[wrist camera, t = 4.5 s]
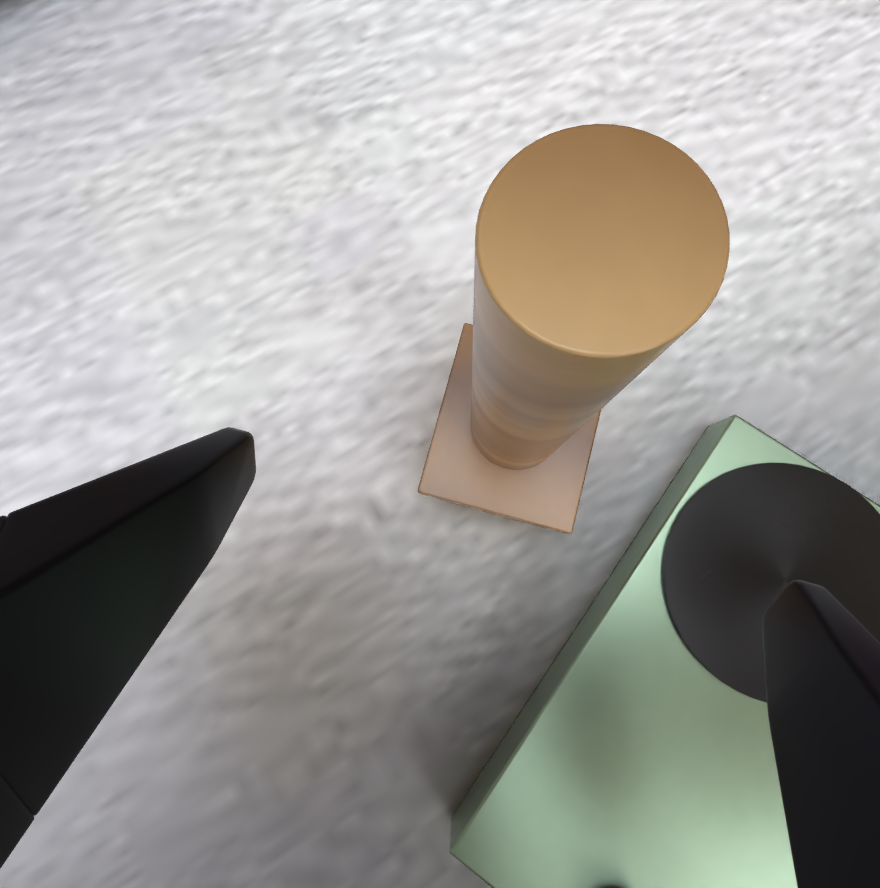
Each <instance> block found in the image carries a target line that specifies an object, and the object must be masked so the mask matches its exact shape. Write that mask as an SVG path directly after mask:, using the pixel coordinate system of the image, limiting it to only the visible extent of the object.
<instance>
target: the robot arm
mask: <svg viewBox="0 0 880 888" xmlns="http://www.w3.org/2000/svg"><path fill="white" fill-rule="evenodd" d="M255 473H256V463H255V449H254V439H253V436H252V434H251V433H249V432H247V431H243V430H239V429H235V428H230V427H228V428H224V429H221V430H219V431H216V432H214V433H211V434H209V435H206V436H204V437H201V438H199V439H196V440H194V441H191V442H189V443H186V444H183V445H181V446H178V447H176V448H173V449H171V450H168V451H166V452H163V453H161V454H158V455H156V456H153V457H150V458H148V459H145V460H143V461H140V462H138V463H135V464H133V465H130V466H128V467H125V468H123V469H120V470H118V471H115V472H112V473H110V474H107V475H105V476H102V477H100V478H97V479H95V480H92V481H90V482H87V483H85V484H82V485H80V486H77V487H74V488H72V489H69V490H67V491H64V492H62V493H59V494H57V495H54V496H52V497H49V498H46V499H44V500H41V501H39V502H36V503H34V504H31V505H29V506H26V507H24V508H21V509H19V510H16V511H13V512H11V513H9V514H8V516H7V517H6V516H0V868H1V867H2V865H3V864H4V863H5V861H6V860H7V858H8V857H9V855H10V854H11V852H12V851H13V849H14V848H15V846H16V845H17V844H18V842H19V841H20V839H21V838H22V836H23V835H24V833H25V832H26V830H27V829H28V827H29V826H30V825H31V823H32V822H33V820H34V815H37V814H38V812H39V811H40V809H41V808H42V806H43V805H44V803H45V802H46V800H47V799H48V798H49V796H50V795H51V793H52V792H53V790H54V789H55V787H56V786H57V784H58V783H59V781H60V780H61V779H62V777H63V776H64V774H65V773H66V771H67V770H68V768H69V767H70V765H71V764H72V762H73V761H74V760H75V758H76V757H77V755H78V754H79V752H80V751H81V749H82V748H83V746H84V745H85V743H86V742H87V741H88V739H89V738H90V736H91V735H92V733H93V732H94V730H95V729H96V727H97V726H98V724H99V723H100V722H101V720H102V719H103V717H104V716H105V714H106V713H107V711H108V710H109V708H110V707H111V705H112V704H113V703H114V701H115V700H116V698H117V697H118V695H119V694H120V692H121V691H122V689H123V688H124V686H125V685H126V684H127V682H128V681H129V679H130V678H131V676H132V675H133V673H134V672H135V670H136V669H137V667H138V666H139V665H140V663H141V662H142V660H143V659H144V657H145V656H146V654H147V653H148V651H149V650H150V648H151V647H152V646H153V644H154V643H155V641H156V640H157V638H158V637H159V635H160V634H161V632H162V631H163V629H164V628H165V627H166V625H167V624H168V622H169V621H170V619H171V618H172V616H173V615H174V613H175V612H176V610H177V609H178V608H179V606H180V605H181V603H182V602H183V600H184V599H185V597H186V596H187V594H188V593H189V591H190V590H191V589H192V587H193V586H194V584H195V583H196V581H197V580H198V578H199V577H200V575H201V574H202V572H203V571H204V570H205V568H206V567H207V565H208V564H209V562H210V560H211V559H212V557H213V556H214V554H215V552H216V551H217V549H218V547H219V545H220V544H221V542H222V540H223V538H224V536H225V534H226V532H227V530H228V528H229V527H230V525H231V523H232V521H233V519H234V517H235V515H236V513H237V511H238V510H239V508H240V506H241V504H242V502H243V500H244V498H245V496H246V494H247V492H248V491H249V489H250V487H251V485H252V483H253V481H254V478H255ZM762 627H763V645H764V662H765V679H766V697H767V709H768V718H769V725H770V732H771V737H772V743H773V749H774V755H775V761H776V766H777V772H778V778H779V784H780V789H781V795H782V801H783V807H784V812H785V818H786V824H787V830H788V835H789V841H790V847H791V853H792V858H793V864H794V870H795V876H796V882H797V887H798V888H880V642H879V641H878V640H877V639H876V638H875V637H874V636H873V635H872V634H871V633H870V632H869V631H868V630H867V629H866V628H865V627H864V626H863V625H862V624H861V623H860V622H859V621H858V620H857V619H856V618H855V617H854V616H853V615H852V614H851V613H850V612H849V611H848V610H847V609H846V608H845V607H844V606H843V605H842V604H841V603H840V602H839V601H838V600H837V599H836V598H835V597H834V596H833V595H832V594H831V593H830V592H829V591H828V590H827V589H826V588H824V587H822V586H820V585H816V584H813V583H809V582H805V581H802V580H794V581H792V582H790V583H789V584H788V585H787V586H786V587H785V588H784V589H783V590H782V592H781V593H780V594H779V595H778V596H777V598H776V599H775V600H774V601H773V602H772V603H771V605H770V606H769V607H768V608H767V610H766V611H765V614H764V617H763V622H762Z"/></svg>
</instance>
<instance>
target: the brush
mask: <svg viewBox="0 0 880 888" xmlns="http://www.w3.org/2000/svg"><path fill="white" fill-rule="evenodd" d="M729 249H730V248H729V228H728V221H727V216H726V213H725V210H724V207H723V203H722V201H721V199H720V197H719V195H718V193H717V190H716V189H715V187H714V185H713V184H712V182H711V181H710V179H709V178H708V176H707V175H706V174H705V173H704V171H703V170H702V169H701V168H700V167H699V165H698V164H697V163H696V162H694V161H693V160H692V159H691V158H690V157H689V156H688V155H687V154H686V153H684V152H683V151H681V150H680V149H679V148H677V147H676V146H674V145H673V144H671V143H669V142H668V141H666V140H664V139H662V138H660V137H658V136H655V135H653V134H650V133H648V132H645V131H642V130H638V129H635V128H631V127H626V126H619V125H609V124H593V125H582V126H577V127H572V128H567V129H563V130H560V131H557V132H554V133H552V134H549V135H547V136H545V137H543V138H541V139H539V140H536V141H535V142H533V143H532V144H530V145H529V146H527V147H525V148H524V149H523V150H521V151H520V152H519V153H518V154H517V155H515V156H514V157H513V158H512V159H511V160H510V161H509V162H508V163H507V164H506V165H505V166H504V167H503V168H502V169H501V171H500V172H499V173H498V175H497V176H496V177H495V179H494V180H493V182H492V183H491V185H490V187H489V189H488V190H487V192H486V194H485V196H484V199H483V202H482V204H481V207H480V210H479V214H478V219H477V223H476V234H475V265H474V308H473V325H471V324H467V323H465V324H464V326H463V330H462V333H461V337H460V341H459V344H458V348H457V351H456V355H455V358H454V362H453V366H452V369H451V373H450V376H449V380H448V384H447V387H446V391H445V394H444V398H443V401H442V405H441V409H440V412H439V416H438V419H437V423H436V427H435V430H434V434H433V437H432V441H431V444H430V448H429V452H428V455H427V459H426V462H425V466H424V470H423V473H422V477H421V480H420V484H419V487H418V492H419V493H420V494H422V495H426V496H429V497H433V498H437V499H440V500H444V501H448V502H451V503H455V504H459V505H462V506H466V507H470V508H473V509H477V510H481V511H484V512H488V513H492V514H495V515H499V516H503V517H506V518H510V519H514V520H517V521H521V522H525V523H528V524H532V525H536V526H539V527H543V528H547V529H550V530H554V531H558V532H561V533H567V534H571V533H572V530H573V526H574V522H575V518H576V513H577V509H578V505H579V501H580V496H581V492H582V488H583V484H584V480H585V475H586V471H587V467H588V463H589V458H590V454H591V450H592V446H593V442H594V437H595V433H596V429H597V425H598V420H599V416H600V412H601V409H602V408H603V407H604V406H605V405H606V404H607V403H608V402H609V401H610V400H612V399H613V398H614V397H615V396H616V395H617V394H618V393H619V392H620V391H621V390H623V389H624V388H625V387H626V386H627V385H628V384H629V383H630V382H631V381H632V380H633V379H635V378H636V377H637V376H638V375H639V374H640V373H641V372H642V371H643V370H644V369H645V368H647V367H648V366H649V365H650V364H651V363H652V362H653V361H654V360H655V359H656V358H658V357H659V356H660V355H661V354H662V353H663V352H664V351H665V350H666V349H667V348H668V347H670V346H671V345H672V344H673V343H674V342H675V341H676V340H677V339H678V338H679V337H680V336H682V335H683V334H684V333H685V332H686V331H687V330H688V329H689V328H690V327H691V326H693V325H694V324H695V323H696V322H697V321H698V320H699V319H700V317H701V316H702V315H703V314H704V313H705V312H706V310H707V309H708V308H709V306H710V305H711V303H712V302H713V300H714V298H715V297H716V295H717V293H718V291H719V289H720V286H721V284H722V282H723V279H724V276H725V272H726V269H727V264H728V257H729Z"/></svg>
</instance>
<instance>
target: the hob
mask: <svg viewBox="0 0 880 888" xmlns="http://www.w3.org/2000/svg"><path fill="white" fill-rule="evenodd" d="M794 580H802V581H805V582H809V583H813V584H816V585H820V586H822V587H824V588H826V589H827V590H828V591H829V592H830V593H831V594H832V595H833V596H834V597H835V598H836V599H837V600H838V601H839V602H840V603H841V604H842V605H843V606H844V607H845V608H846V609H847V610H848V611H849V612H850V613H851V614H852V615H853V616H854V617H855V618H856V619H857V620H858V621H859V622H860V623H861V624H862V625H863V626H864V627H865V628H866V629H867V630H868V631H869V632H870V633H871V634H872V635H873V636H874V637H875V638H876V639H877V640H878V641H879V642H880V505H878V504H876V503H875V502H873V501H872V500H870V499H869V498H867V497H865V496H864V495H862V494H861V493H859V492H857V491H856V490H854V489H853V488H851V487H850V486H849V485H847V484H846V483H844V482H842V481H840V480H838V479H837V478H835V477H834V476H832V475H830V474H829V473H827V472H826V471H824V470H823V469H821V468H819V467H818V466H816V465H815V464H813V463H811V462H810V461H808V460H807V459H805V458H803V457H802V456H800V455H799V454H797V453H796V452H794V451H792V450H791V449H789V448H788V447H786V446H784V445H783V444H781V443H780V442H778V441H776V440H775V439H773V438H772V437H770V436H769V435H767V434H765V433H764V432H762V431H761V430H759V429H757V428H756V427H754V426H753V425H751V424H750V423H748V422H746V421H745V420H743V419H742V418H740V417H738V416H737V415H733V416H731V417H728V418H726V419H724V420H721V421H719V422H717V423H715V424H712V425H710V426H708V428H707V429H706V431H705V432H704V434H703V435H702V437H701V438H700V440H699V441H698V443H697V444H696V446H695V447H694V449H693V451H692V452H691V454H690V455H689V457H688V458H687V460H686V461H685V463H684V464H683V466H682V467H681V469H680V470H679V472H678V473H677V475H676V476H675V478H674V479H673V481H672V483H671V484H670V486H669V487H668V489H667V490H666V492H665V493H664V495H663V496H662V498H661V499H660V501H659V502H658V504H657V505H656V507H655V508H654V510H653V511H652V513H651V515H650V516H649V518H648V519H647V521H646V522H645V524H644V525H643V527H642V528H641V530H640V531H639V533H638V534H637V536H636V537H635V539H634V540H633V542H632V543H631V545H630V547H629V548H628V550H627V551H626V553H625V554H624V556H623V557H622V559H621V560H620V562H619V563H618V565H617V566H616V568H615V569H614V571H613V572H612V574H611V575H610V577H609V579H608V580H607V582H606V583H605V585H604V586H603V588H602V589H601V591H600V592H599V594H598V595H597V597H596V598H595V600H594V601H593V603H592V604H591V606H590V607H589V609H588V611H587V612H586V614H585V615H584V617H583V618H582V620H581V621H580V623H579V624H578V626H577V627H576V629H575V630H574V632H573V633H572V635H571V636H570V638H569V639H568V641H567V643H566V644H565V646H564V647H563V649H562V650H561V652H560V653H559V655H558V656H557V658H556V659H555V661H554V662H553V664H552V665H551V667H550V668H549V670H548V671H547V673H546V675H545V676H544V678H543V679H542V681H541V682H540V684H539V685H538V687H537V688H536V690H535V691H534V693H533V694H532V696H531V697H530V699H529V700H528V702H527V703H526V705H525V707H524V708H523V710H522V711H521V713H520V714H519V716H518V717H517V719H516V720H515V722H514V723H513V725H512V726H511V728H510V729H509V731H508V732H507V734H506V735H505V737H504V739H503V740H502V742H501V743H500V745H499V746H498V748H497V749H496V751H495V752H494V754H493V755H492V757H491V758H490V760H489V761H488V763H487V764H486V766H485V767H484V769H483V770H482V772H481V774H480V775H479V777H478V778H477V780H476V781H475V783H474V784H473V786H472V787H471V789H470V790H469V792H468V793H467V795H466V796H465V798H464V799H463V801H462V802H461V804H460V806H459V807H458V809H457V810H456V812H455V813H454V815H453V816H452V819H451V836H450V853H451V854H452V855H453V856H454V857H455V858H457V859H458V860H459V861H460V862H462V863H463V864H464V865H465V866H467V867H468V868H469V869H470V870H471V871H473V872H474V873H475V874H476V875H478V876H479V877H480V878H481V879H483V880H484V881H485V882H486V883H488V884H489V885H490V886H491V887H492V888H798V887H797V882H796V876H795V870H794V864H793V858H792V853H791V847H790V841H789V835H788V830H787V824H786V818H785V812H784V807H783V801H782V795H781V789H780V784H779V778H778V772H777V766H776V761H775V755H774V749H773V743H772V737H771V732H770V725H769V718H768V709H767V697H766V679H765V662H764V645H763V627H762V622H763V617H764V614H765V611H766V610H767V608H768V607H769V606H770V605H771V603H772V602H773V601H774V600H775V599H776V598H777V596H778V595H779V594H780V593H781V592H782V590H783V589H784V588H785V587H786V586H787V585H788V584H789V583H790V582H792V581H794Z"/></svg>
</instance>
